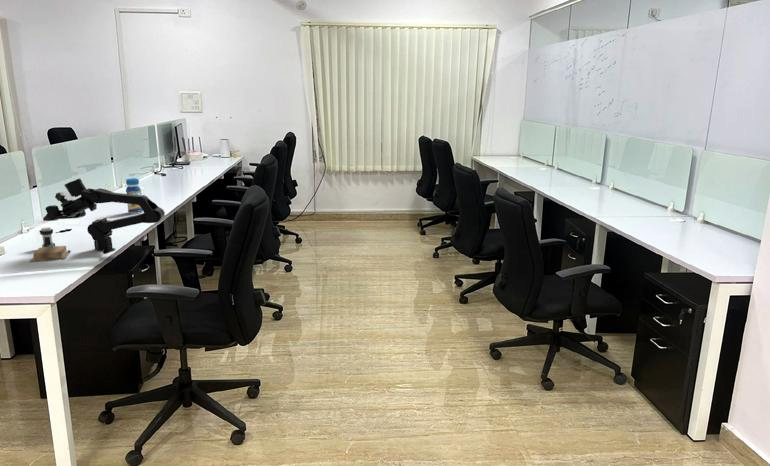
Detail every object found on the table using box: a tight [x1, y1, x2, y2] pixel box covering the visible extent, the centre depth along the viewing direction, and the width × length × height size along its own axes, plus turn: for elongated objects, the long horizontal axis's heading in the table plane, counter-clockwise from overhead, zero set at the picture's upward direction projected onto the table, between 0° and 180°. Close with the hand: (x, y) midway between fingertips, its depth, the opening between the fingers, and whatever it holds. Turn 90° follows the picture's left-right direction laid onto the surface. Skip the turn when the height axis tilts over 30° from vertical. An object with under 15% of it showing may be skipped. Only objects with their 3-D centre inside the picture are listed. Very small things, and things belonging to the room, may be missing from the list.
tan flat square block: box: [33, 245, 68, 261], centre depth 232 cm, size 10×10×3 cm
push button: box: [39, 226, 57, 248], centre depth 245 cm, size 7×5×10 cm
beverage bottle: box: [125, 177, 144, 215], centre depth 322 cm, size 8×8×20 cm
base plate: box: [29, 249, 72, 263], centre depth 233 cm, size 13×13×2 cm
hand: (51, 218), depth 243 cm, fingers open, 9 cm apart
